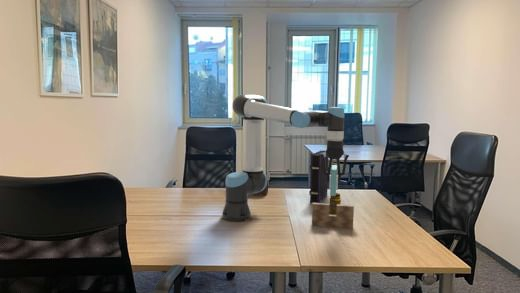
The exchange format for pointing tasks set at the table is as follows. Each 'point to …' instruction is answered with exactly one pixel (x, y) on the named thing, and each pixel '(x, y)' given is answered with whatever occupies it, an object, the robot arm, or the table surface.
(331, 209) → the condiment
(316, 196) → the book
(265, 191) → the letter holder
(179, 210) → the table surface
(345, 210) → the walnut plate
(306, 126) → the robot arm
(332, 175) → the teal plate
